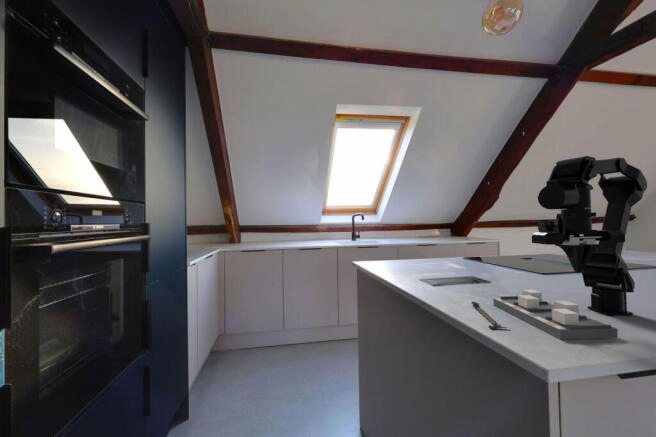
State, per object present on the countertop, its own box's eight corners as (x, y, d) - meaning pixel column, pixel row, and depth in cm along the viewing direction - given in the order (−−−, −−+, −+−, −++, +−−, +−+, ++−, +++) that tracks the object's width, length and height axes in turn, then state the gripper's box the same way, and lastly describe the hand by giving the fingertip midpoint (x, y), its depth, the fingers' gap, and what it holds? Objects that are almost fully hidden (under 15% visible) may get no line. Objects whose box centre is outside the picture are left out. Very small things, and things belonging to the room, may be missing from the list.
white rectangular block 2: (566, 310, 73) (566, 300, 73) (578, 315, 69) (578, 304, 69) (554, 310, 73) (554, 301, 73) (566, 315, 69) (565, 305, 69)
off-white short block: (565, 319, 67) (564, 308, 67) (578, 324, 63) (578, 313, 63) (552, 319, 67) (551, 308, 67) (564, 325, 63) (564, 313, 63)
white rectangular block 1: (532, 297, 85) (532, 289, 85) (541, 301, 81) (541, 292, 81) (522, 298, 85) (522, 289, 85) (531, 301, 81) (530, 292, 81)
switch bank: (534, 304, 86) (534, 295, 86) (617, 338, 61) (617, 325, 61) (493, 305, 86) (493, 296, 86) (560, 339, 61) (559, 327, 61)
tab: (529, 304, 79) (529, 295, 79) (539, 308, 75) (538, 298, 75) (518, 304, 79) (517, 295, 79) (527, 308, 75) (526, 299, 75)
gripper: (584, 209, 80) (587, 266, 80) (516, 211, 80) (518, 268, 80) (626, 207, 69) (629, 273, 69) (546, 209, 69) (549, 276, 69)
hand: (578, 272), depth 72 cm, fingers closed
